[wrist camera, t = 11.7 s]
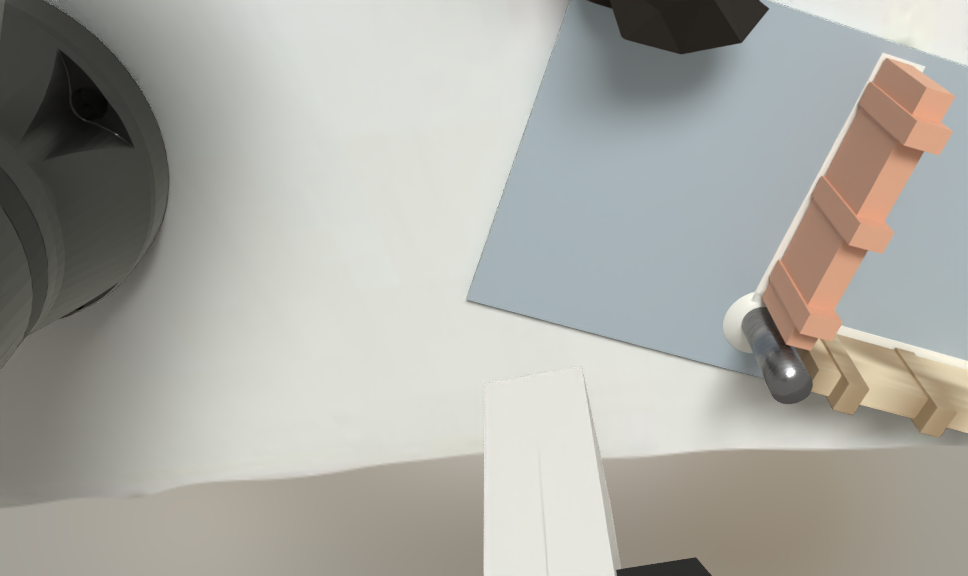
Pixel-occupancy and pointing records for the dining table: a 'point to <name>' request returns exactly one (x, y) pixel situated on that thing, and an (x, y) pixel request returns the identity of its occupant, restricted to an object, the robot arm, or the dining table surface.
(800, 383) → the hinge post
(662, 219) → the card
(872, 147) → the swing panel
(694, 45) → the toy
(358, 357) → the dining table surface
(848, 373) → the fixed panel
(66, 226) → the robot arm
